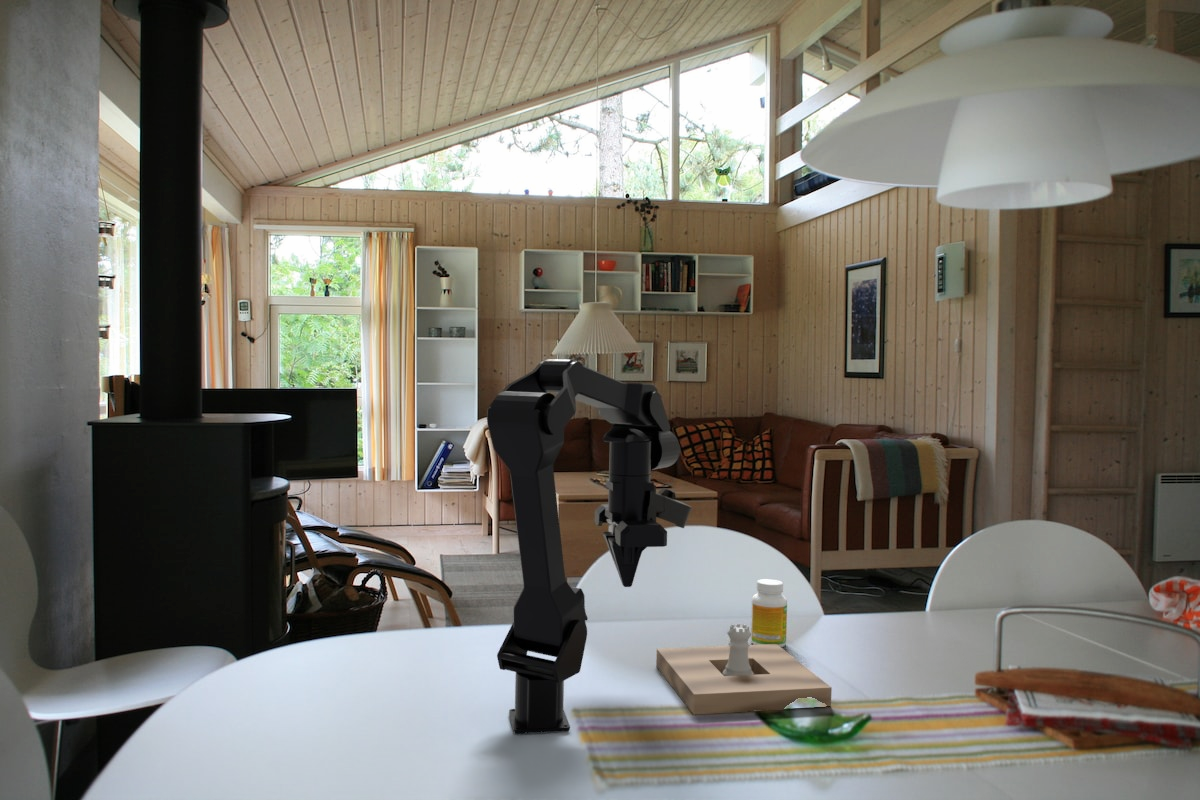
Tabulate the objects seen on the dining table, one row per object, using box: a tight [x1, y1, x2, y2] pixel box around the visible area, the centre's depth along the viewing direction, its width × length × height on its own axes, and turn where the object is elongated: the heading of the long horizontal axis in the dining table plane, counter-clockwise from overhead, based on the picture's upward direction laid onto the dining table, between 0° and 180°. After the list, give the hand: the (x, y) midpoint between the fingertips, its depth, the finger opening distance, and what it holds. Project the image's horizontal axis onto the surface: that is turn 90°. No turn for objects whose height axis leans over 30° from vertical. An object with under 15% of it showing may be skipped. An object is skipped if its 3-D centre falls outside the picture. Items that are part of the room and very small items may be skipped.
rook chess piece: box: [722, 623, 754, 676], centre depth 119 cm, size 4×4×8 cm
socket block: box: [655, 644, 833, 716], centre depth 119 cm, size 18×18×2 cm
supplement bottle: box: [750, 578, 788, 648], centre depth 138 cm, size 5×5×10 cm
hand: (627, 586), depth 123 cm, fingers closed
